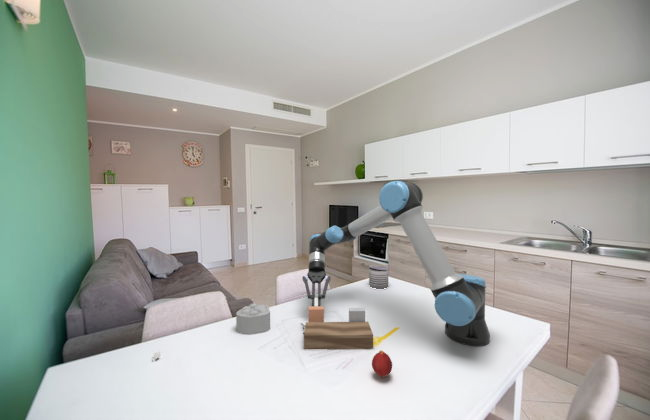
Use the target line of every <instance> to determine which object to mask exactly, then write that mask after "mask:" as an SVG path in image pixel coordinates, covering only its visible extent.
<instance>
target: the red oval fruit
mask: <svg viewBox="0 0 650 420" xmlns="http://www.w3.org/2000/svg"><path fill="white" fill-rule="evenodd" d="M371 367H372V371H374V373H375V374H376V375H377V376H379V377H381V378H384V377H387V376H389V375H390V374H391V372H392V370H393V362H392V359H391V357H390V355H389V354H387V353H386V352H385V351H384V350H382V349H381V350H379V352H376V354H375V355H373V356H372V359H371Z"/></svg>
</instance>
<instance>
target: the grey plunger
mask: <svg viewBox="0 0 650 420" xmlns="http://www.w3.org/2000/svg"><path fill="white" fill-rule="evenodd" d="M348 322H366V310H365V307H349V308H348Z"/></svg>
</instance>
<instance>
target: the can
mask: <svg viewBox="0 0 650 420" xmlns="http://www.w3.org/2000/svg"><path fill="white" fill-rule="evenodd" d="M368 269H369V270H368V277H369V278H368V286H369V285H370V287H372V288H376V289H384V288H387V287H388V288H389V269H390V268H389V267H387V266H382V265H369V266H368ZM370 287H369V288H370ZM372 288H371V289H372ZM388 288H387V289H388ZM376 289H375V290H376ZM384 290H385V289H384Z"/></svg>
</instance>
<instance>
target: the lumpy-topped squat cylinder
mask: <svg viewBox="0 0 650 420" xmlns="http://www.w3.org/2000/svg"><path fill="white" fill-rule="evenodd" d="M235 316H236V317H235V319H236V320H235V321H236V323H235V325H236V327H235V328H236V332H237V333H238V334H241V335H246V336H247V335H248V336H251V335H257V334H263V333H267V332H269V331H270V330H271V311H270V306H269V305H267V304H257V303H255V302H254V303H251V304H249V305H246V306H243V307H242V308H241V309H239V310H238V311H236V313H235Z"/></svg>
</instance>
